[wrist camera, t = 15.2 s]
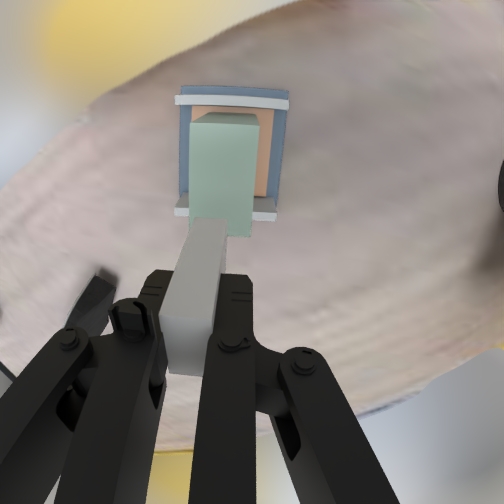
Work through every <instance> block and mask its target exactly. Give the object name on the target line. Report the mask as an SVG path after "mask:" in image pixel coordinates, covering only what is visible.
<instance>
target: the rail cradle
mask: <svg viewBox="0 0 504 504" xmlns="http://www.w3.org/2000/svg"><path fill="white" fill-rule="evenodd" d="M288 94H289V91H282V90H272V89H261V88H247V87H227V86H181V95H175V105H180V141H179V192H180V199H179V201H178V202H177V204H176V206H175V216H186V217H189V135H190V123H191V119H192V105H213V106H238V107H254V108H266V109H274V118H273V128H272V139H271V149H270V159H269V170H268V180H267V190H266V197H264V196H254V200H253V212H252V220H258V221H273V222H276V217H277V211H276V206H277V197H278V188H279V180H280V171H281V162H282V152H283V143H284V134H285V124H286V114H287V110H289V100H288Z"/></svg>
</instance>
